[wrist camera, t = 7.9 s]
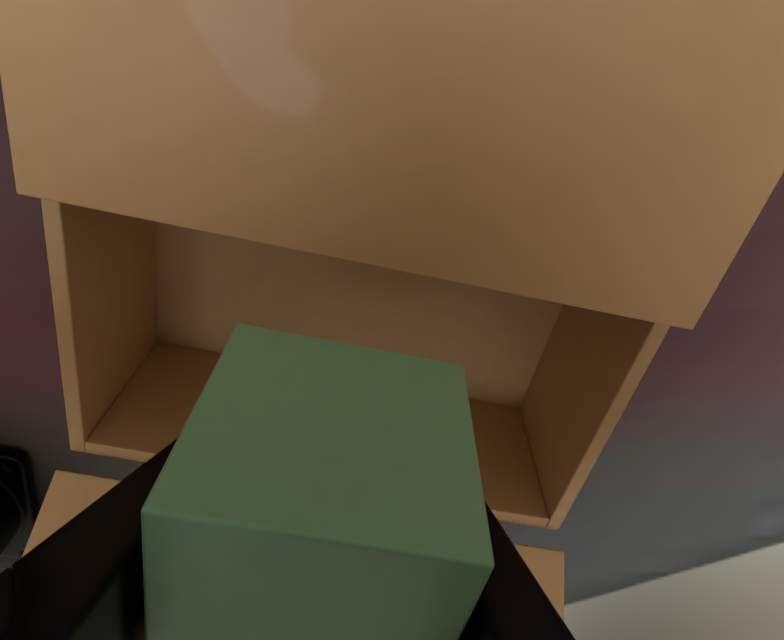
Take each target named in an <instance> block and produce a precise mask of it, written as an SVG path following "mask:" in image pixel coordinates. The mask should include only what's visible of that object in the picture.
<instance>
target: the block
mask: <svg viewBox="0 0 784 640" xmlns="http://www.w3.org/2000/svg"><path fill="white" fill-rule="evenodd" d="M141 528H142V559H143V589H144V620H145V640H459V638H460V636H461V634H462V632H463V630H464V628H465V626H466V624H467V622H468V620H469V618H470V616H471V614H472V612H473V610H474V607H475V605H476V603H477V601H478V599H479V597H480V595H481V593H482V591H483V589H484V587H485V585H486V583H487V581H488V579H489V576H490V574H491V572H492V570H493V568H494V565H495V564H494V558H493V551H492V545H491V538H490V532H489V526H488V519H487V513H486V507H485V500H484V494H483V488H482V481H481V475H480V468H479V462H478V456H477V449H476V443H475V437H474V430H473V424H472V417H471V411H470V405H469V398H468V392H467V386H466V379H465V373H464V367H463V366H462V365H460V364H455V363H450V362H444V361H439V360H434V359H428V358H423V357H418V356H412V355H407V354H402V353H396V352H391V351H386V350H380V349H375V348H370V347H364V346H359V345H354V344H348V343H343V342H338V341H332V340H327V339H322V338H316V337H311V336H306V335H300V334H295V333H290V332H284V331H279V330H274V329H268V328H263V327H258V326H252V325H247V324H242V323H239V324H237V325H236V327H235V329H234V331H233V332H232V334H231V336H230V338H229V340H228V342H227V344H226V346H225V348H224V350H223V352H222V354H221V356H220V358H219V360H218V362H217V363H216V365H215V367H214V369H213V371H212V373H211V375H210V377H209V379H208V381H207V383H206V385H205V387H204V389H203V391H202V392H201V394H200V396H199V398H198V400H197V402H196V404H195V406H194V408H193V410H192V412H191V414H190V416H189V418H188V420H187V422H186V423H185V425H184V427H183V429H182V431H181V433H180V435H179V437H178V439H177V441H176V443H175V445H174V447H173V449H172V451H171V452H170V454H169V456H168V458H167V460H166V462H165V464H164V466H163V468H162V470H161V472H160V474H159V476H158V478H157V480H156V482H155V483H154V485H153V487H152V489H151V491H150V493H149V495H148V497H147V499H146V501H145V503H144V505H143V507H142V509H141Z"/></svg>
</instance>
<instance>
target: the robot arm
mask: <svg viewBox="0 0 784 640" xmlns="http://www.w3.org/2000/svg"><path fill="white" fill-rule="evenodd" d="M177 439H178V438H176V439H175V440H174V441H173V442H171V443H170V444H169V445H167V446H166V447H165V448H163V449H162V450H161V451H160V452H158V453H157V454H156V455H154V456H153V457H152V458H150V459H149V460H148V461H147V462H145V463H144V464H143V465H141V466H140V467H139V468H137V469H136V470H135V471H134V472H132V473H131V474H130V475H128V476H127V477H126V478H124V479H123V480H122V481H121V482H119V483H118V484H117V485H115V486H114V487H113V488H111V489H110V490H109V491H107V492H106V493H105V494H104V495H102V496H101V497H100V498H98V499H97V500H96V501H94V502H93V503H92V504H91V505H89V506H88V507H87V508H85V509H84V510H83V511H81V512H80V513H79V514H78V515H76V516H75V517H74V518H72V519H71V520H70V521H68V522H67V523H66V524H65V525H63V526H62V527H61V528H59V529H58V530H57V531H55V532H54V533H53V534H52V535H50V536H49V537H48V538H46V539H45V540H44V541H42V542H41V543H40V544H39V545H37V546H36V547H35V548H33V549H32V550H31V551H29V552H28V553H27V554H26V555H24V556H23V557H22V555H23V553H24V550H25V547H26V545H27V542H28V540H29V537H30V535H31V532H32V529H33V527H34V524H35V522H36V519H37V517H38V511H37V506H36V500H35V494H34V488H33V482H32V477H31V471H30V465H29V461H28V458H27V457H26V456H25V455H24V454H22V453H21V452H18V451H15V450H9V449H3V448H0V556H2V557H9V558H15V559H19V560H18V561H16V562H15V563H14V564H13V566H12V569H11V568H7V569H6V570H4V571H3V572H2V573H0V640H145V620H144V589H143V559H142V528H141V509H142V507H143V505H144V503H145V501H146V499H147V497H148V495H149V493H150V491H151V489H152V487H153V485H154V483H155V482H156V480H157V478H158V476H159V474H160V472H161V470H162V468H163V466H164V464H165V462H166V460H167V458H168V456H169V454H170V452H171V451H172V449H173V447H174V445H175V443H176V441H177ZM485 507H486V513H487V519H488V526H489V532H490V538H491V545H492V551H493V558H494V564H495V565H494V568H493V570H492V572H491V574H490V576H489V579H488V581H487V583H486V585H485V587H484V589H483V591H482V593H481V595H480V597H479V599H478V601H477V603H476V605H475V607H474V610H473V612H472V614H471V616H470V618H469V620H468V622H467V624H466V626H465V628H464V630H463V632H462V634H461V636H460V638H459V640H575V638H574V637H573V635H572V634H571V632H570V631H569V629H568V628H567V626H566V624H565V623H564V621H563V620H562V618H561V617H560V615H559V614H558V612H557V611H556V609H555V608H554V606H553V605H552V603H551V601H550V600H549V598H548V597H547V595H546V594H545V592H544V591H543V589H542V588H541V586H540V585H539V583H538V581H537V580H536V578H535V577H534V575H533V574H532V572H531V571H530V569H529V568H528V566H527V565H526V563H525V562H524V560H523V558H522V557H521V555H520V554H519V552H518V551H517V549H516V548H515V546H514V545H513V543H512V542H511V540H510V538H509V537H508V535H507V534H506V532H505V531H504V529H503V528H502V526H501V525H500V523H499V522H498V520H497V519H496V517H495V515H494V514H493V512H492V511H491V509H490V508H489V506H488V505H487V503H486V502H485Z"/></svg>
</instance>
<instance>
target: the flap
mask: <svg viewBox="0 0 784 640" xmlns="http://www.w3.org/2000/svg"><path fill="white" fill-rule="evenodd" d="M121 481H122V480H118V479H112V478H106V477H99V476H93V475H87V474H81V473H75V472H68V471H62V470H56V471H55V473H54V476H53V478H52V481H51V483H50V486H49V488H48V491H47V494H46V496H45V499H44V501H43V504H42V506H41V509H40V511H39V514H38V517H37V519H36V522H35V524H34V527H33V529H32V532H31V535H30V537H29V540H28V542H27V545H26V547H25V550H24V553H23V555H22V557H23V556H24V555H26V554H27V553H28V552H29V551H31V550H32V549H33V548H35V547H36V546H37V545H39V544H40V543H41V542H42V541H44V540H45V539H46V538H48V537H49V536H50V535H52V534H53V533H54V532H55V531H57V530H58V529H59V528H61V527H62V526H63V525H65V524H66V523H67V522H68V521H70V520H71V519H72V518H74V517H75V516H76V515H78V514H79V513H80V512H81V511H83V510H84V509H85V508H87V507H88V506H89V505H91V504H92V503H93V502H94V501H96V500H97V499H98V498H100V497H101V496H102V495H104V494H105V493H106V492H107V491H109V490H110V489H111V488H113V487H114V486H115V485H117V484H118V483H119V482H121ZM513 545H514V546H515V548H516V549H517V551H518V552H519V554H520V555H521V557H522V558H523V560H524V562H525V563H526V565H527V566H528V568H529V569H530V571H531V572H532V574H533V575H534V577H535V578H536V580H537V581H538V583H539V585H540V586H541V588H542V589H543V591H544V592H545V594H546V595H547V597H548V598H549V600H550V601H551V603H552V605H553V606H554V608H555V609H556V611H557V612H558V614H559V615H560V617H561V618H562V620H563V621H564V552H563V551H558V550H551V549H545V548H539V547H533V546H527V545H520V544H514V543H513Z"/></svg>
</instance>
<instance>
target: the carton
mask: <svg viewBox="0 0 784 640" xmlns="http://www.w3.org/2000/svg"><path fill="white" fill-rule="evenodd" d="M0 77H1V84H2V91H3V98H4V105H5V113H6V120H7V127H8V134H9V141H10V148H11V155H12V162H13V170H14V177H15V184H16V191H17V193H18V194H21V195H26V196H31V197H36V198H41V205H42V214H43V222H44V231H45V239H46V248H47V256H48V265H49V273H50V282H51V290H52V298H53V307H54V315H55V324H56V332H57V341H58V349H59V358H60V366H61V375H62V383H63V392H64V400H65V409H66V417H67V426H68V434H69V443H70V449H71V450H74V451H80V452H85V451H86V452H87V453H92V454H98V455H104V456H110V457H116V458H122V459H128V460H134V461H140V462H147V461H148V460H149V459H150V458H152V457H153V456H154V455H156V454H157V453H158V452H160V451H161V450H162V449H163V448H165V447H166V446H167V445H169V444H170V443H171V442H173V441H174V440H175V439H176V438H178V437H179V435H180V433H181V431H182V429H183V427H184V425H185V423H186V422H187V420H188V418H189V416H190V414H191V412H192V410H193V408H194V406H195V404H196V402H197V400H198V398H199V396H200V394H201V392H202V391H203V389H204V387H205V385H206V383H207V381H208V379H209V377H210V375H211V373H212V371H213V369H214V367H215V365H216V363H217V362H218V360H219V358H220V356H221V354H222V352H223V350H224V348H225V346H226V344H227V342H228V340H229V338H230V336H231V334H232V332H233V331H234V329H235V327H236V325H237V324H239V323H242V324H247V325H252V326H258V327H263V328H268V329H274V330H279V331H284V332H290V333H295V334H300V335H306V336H311V337H316V338H322V339H327V340H332V341H338V342H343V343H348V344H354V345H359V346H364V347H370V348H375V349H380V350H386V351H391V352H396V353H402V354H407V355H412V356H418V357H423V358H428V359H434V360H439V361H444V362H450V363H455V364H460V365H462V366H463V367H464V373H465V379H466V386H467V392H468V398H469V405H470V411H471V417H472V424H473V430H474V437H475V443H476V449H477V456H478V462H479V468H480V475H481V481H482V488H483V494H484V500H485V502H486V503H487V505H488V506H489V508H490V509H491V511H492V512H493V514H494V515H495V517H496V519H497V520H498V521H504V522H510V523H517V524H523V525H529V526H535V527H541V528H545V527H546V528H547V529H553V530H558V529H559V528H560V526H561V524H562V522H563V520H564V519H565V517H566V515H567V513H568V511H569V509H570V508H571V506H572V504H573V502H574V500H575V499H576V497H577V495H578V493H579V491H580V489H581V488H582V486H583V484H584V482H585V480H586V479H587V477H588V475H589V473H590V471H591V469H592V468H593V466H594V464H595V462H596V460H597V459H598V457H599V455H600V453H601V451H602V450H603V448H604V446H605V444H606V442H607V440H608V439H609V437H610V435H611V433H612V431H613V430H614V428H615V426H616V424H617V422H618V420H619V419H620V417H621V415H622V413H623V411H624V410H625V408H626V406H627V404H628V402H629V400H630V399H631V397H632V395H633V393H634V391H635V390H636V388H637V386H638V384H639V382H640V380H641V379H642V377H643V375H644V373H645V371H646V370H647V368H648V366H649V364H650V362H651V360H652V359H653V357H654V355H655V353H656V351H657V350H658V348H659V346H660V344H661V342H662V340H663V339H664V337H665V335H666V333H667V331H668V330H669V328H670V326H674V327H679V328H684V329H689V330H692V329H693V328H694V326H695V325H696V323H697V321H698V319H699V318H700V316H701V314H702V313H703V311H704V309H705V307H706V306H707V304H708V302H709V300H710V299H711V297H712V295H713V293H714V292H715V290H716V288H717V287H718V285H719V283H720V281H721V280H722V278H723V276H724V274H725V273H726V271H727V269H728V267H729V266H730V264H731V262H732V261H733V259H734V257H735V255H736V254H737V252H738V250H739V248H740V247H741V245H742V243H743V241H744V240H745V238H746V236H747V234H748V233H749V231H750V229H751V228H752V226H753V224H754V222H755V221H756V219H757V217H758V215H759V214H760V212H761V210H762V208H763V207H764V205H765V203H766V202H767V200H768V198H769V196H770V195H771V193H772V191H773V189H774V188H775V186H776V184H777V182H778V181H779V179H780V177H781V176H782V174H783V172H784V0H0Z"/></svg>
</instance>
